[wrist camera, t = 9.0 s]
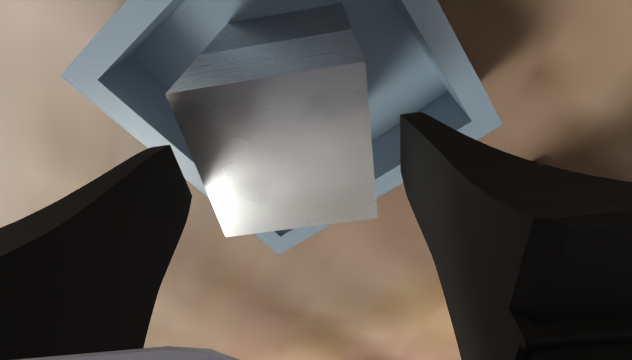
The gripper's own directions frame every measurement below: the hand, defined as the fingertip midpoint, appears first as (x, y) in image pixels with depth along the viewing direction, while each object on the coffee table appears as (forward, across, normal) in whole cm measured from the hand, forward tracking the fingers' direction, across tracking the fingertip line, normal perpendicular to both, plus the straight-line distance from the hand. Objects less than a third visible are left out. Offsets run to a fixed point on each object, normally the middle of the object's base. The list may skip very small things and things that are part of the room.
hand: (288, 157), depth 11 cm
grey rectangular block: (+8, 0, 0) cm, 8 cm away
